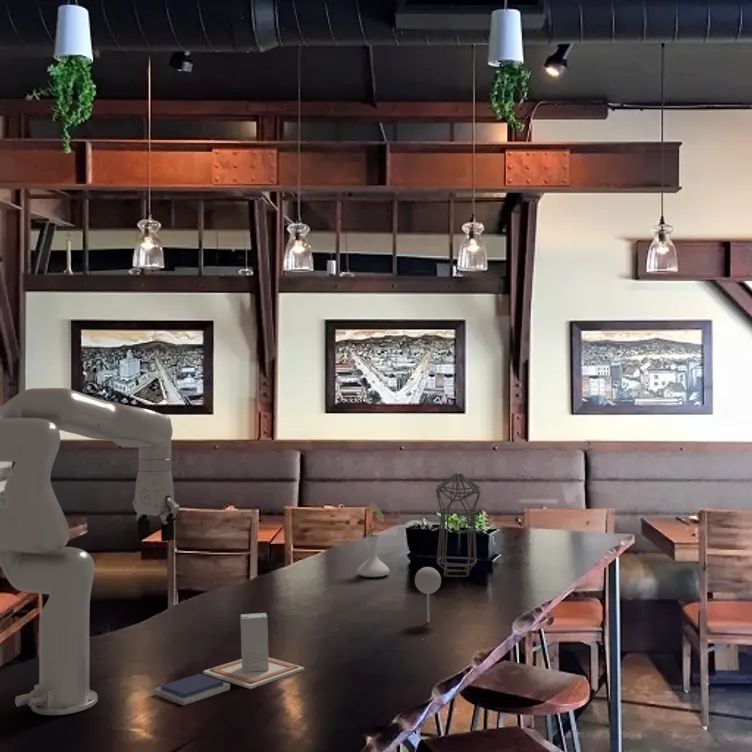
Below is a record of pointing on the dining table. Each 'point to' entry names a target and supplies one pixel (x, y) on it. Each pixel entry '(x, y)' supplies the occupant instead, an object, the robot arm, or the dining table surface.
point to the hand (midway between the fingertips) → (155, 538)
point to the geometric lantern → (475, 490)
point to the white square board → (253, 673)
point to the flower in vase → (373, 552)
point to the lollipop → (427, 583)
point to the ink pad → (191, 689)
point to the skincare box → (254, 642)
